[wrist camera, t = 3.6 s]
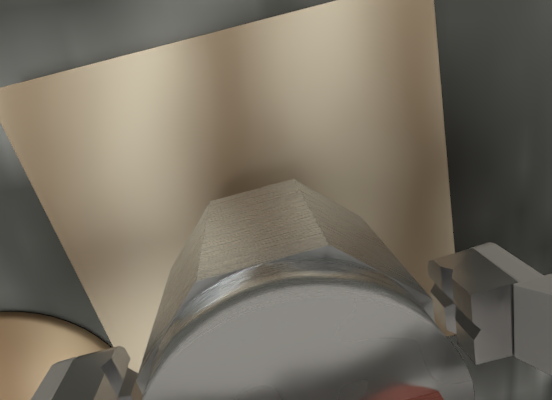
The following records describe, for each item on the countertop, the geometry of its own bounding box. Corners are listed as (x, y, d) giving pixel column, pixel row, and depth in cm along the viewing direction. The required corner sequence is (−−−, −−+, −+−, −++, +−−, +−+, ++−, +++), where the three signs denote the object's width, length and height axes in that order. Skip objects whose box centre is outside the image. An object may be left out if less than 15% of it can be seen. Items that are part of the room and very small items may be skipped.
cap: (352, 162, 10) (483, 267, 5) (381, 327, 12) (497, 528, 7) (150, 217, 10) (56, 383, 5) (212, 374, 12) (195, 616, 7)
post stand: (403, -12, 13) (697, -149, 5) (438, 305, 18) (614, 510, 10) (20, 88, 13) (-366, 124, 5) (158, 383, 18) (93, 662, 10)
